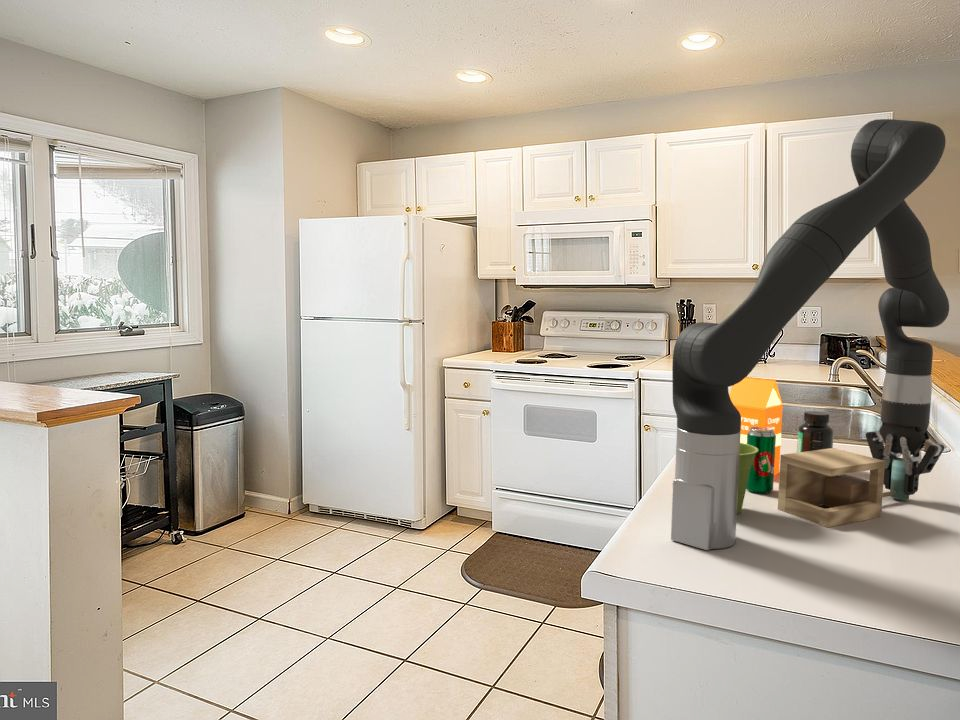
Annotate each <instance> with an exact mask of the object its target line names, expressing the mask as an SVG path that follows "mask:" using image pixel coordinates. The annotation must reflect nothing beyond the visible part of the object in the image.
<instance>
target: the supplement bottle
mask: <svg viewBox="0 0 960 720" xmlns="http://www.w3.org/2000/svg"><path fill="white" fill-rule="evenodd" d="M803 422H804V423H802V424H800V425H799V426H798V428H797V441H796V442H797V444H796V453H799V452H806V451H814V450H821V449H829V448H834V432H835V431H834V429H833V427H831V426H830V425H828V424H829V423H830V413H828V412H826V411H825V412H824V411H817V410H816V411H815V410H813V411H812V410H809V411H804V413H803Z"/></svg>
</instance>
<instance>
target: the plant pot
mask: <svg viewBox="0 0 960 720" xmlns="http://www.w3.org/2000/svg"><path fill="white" fill-rule="evenodd" d="M758 451H759V450H758V448H756V447H754V446H752V445H749V444H744V443H740V455H739V476H738V497H737V514H740V513H741V511H742V510H743V505H744V501H745V495H746V491H747V489H746V487H747V482H748V478H749V473H750V469H751V466H752V465H753V461H754V456H755V454H756V453H758Z"/></svg>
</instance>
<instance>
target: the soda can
mask: <svg viewBox="0 0 960 720" xmlns="http://www.w3.org/2000/svg"><path fill="white" fill-rule="evenodd" d="M749 429H750V430H749V432H748V433H747V444H749V445H752V446H754V447H756V448H758V450H759V451H758V453H756V454H755V456H754V461H753V465H752V466H751V469H750V473H749V478H748V482H747V487H746V491H747V492H749V493H753V494H761V495H763V494H764V495H765V494H766V495H767V494H770V493H772V491H773V490H774V479H775V478H774V477H775V475H774V463H775V445H776V435H775V433H774V429H771V428H767V427H750V428H749Z"/></svg>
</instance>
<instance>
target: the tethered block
mask: <svg viewBox="0 0 960 720" xmlns="http://www.w3.org/2000/svg"><path fill="white" fill-rule="evenodd" d="M905 474H907V473H906V468H905V462H904V461H903V457H899V458H892V472H891V487H890V490H889V491H885V492H884V491H883V497H882V498H887V497H891V498H892V499H895V500H902V501H903V500H904V501H905V500H909V499H910V495H906V494H904V481H905ZM868 493H869V480H868V479H863V478H859V477H857V476H853V475H849V474H842V475H838V476H833V477H827V478H826V482H825V499H824V506H825V507H829V508H832V507H838V506H843V505H849V504H854V503H860V502H865V501H868Z"/></svg>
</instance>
